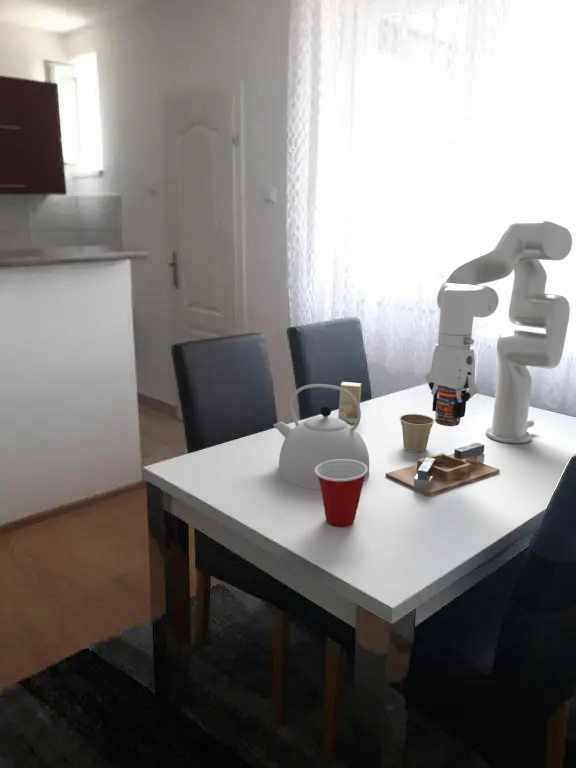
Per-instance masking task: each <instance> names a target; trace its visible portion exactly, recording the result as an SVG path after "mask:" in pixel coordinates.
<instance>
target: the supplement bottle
mask: <svg viewBox="0 0 576 768" xmlns="http://www.w3.org/2000/svg"><path fill="white" fill-rule="evenodd" d="M461 393H462V391H461ZM462 395H463V394H462ZM455 402H458V401H457V396H456V392H455V390H454V389H451V388H449V387H447V386H439V388H438V392H437V403H436V411H435V413H434V414H435V417H434V422H435V423H436V424H438V425H440V426H444V427H456V426H459V425H460V423H461V418H454V409H455Z"/></svg>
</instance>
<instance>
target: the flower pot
mask: <svg viewBox="0 0 576 768" xmlns="http://www.w3.org/2000/svg"><path fill="white" fill-rule="evenodd" d="M399 421H400V425H401V430H402V441H403V445H402V446H403V448H404V449H405V451H408V452H413V453H417V452H420V453H421V452H425V451H427V447H428V443H429V439H430V438H429V437H430V434H431V430H432V427H433V426H434V425H433V424H434V423H435V418H433V417H432V416H429V415H425V414H418V413H407V414H402V415H401V416H400V417H399Z"/></svg>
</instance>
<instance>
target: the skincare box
mask: <svg viewBox="0 0 576 768" xmlns="http://www.w3.org/2000/svg"><path fill="white" fill-rule="evenodd" d="M339 387H341V388H343V389H345V390H347V391H349V392H350V393H351V394H352V395H353V396H354V397H355V398H356V400H357V401H358V403H359V406H360V405H361V395H362V394H361V393H362V383H360V382H359V383H358V382H350V381H349V382H348V381H341V383H340V386H339ZM360 407H361V406H360ZM357 416H358V412H357V407H356V405H355V403H354V401H353V400H352V399H351V398H350V397H349V396H348V395H347V394H345V393H344V392H342V391H339V401H338V415H337V418H338V419H341V420H343V421H345V422H346V423H347V424H353V425H354V424H355V423H356V421H357Z"/></svg>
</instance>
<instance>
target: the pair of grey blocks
mask: <svg viewBox="0 0 576 768" xmlns="http://www.w3.org/2000/svg"><path fill="white" fill-rule="evenodd" d="M453 454H454V457H455V458H457V459H460V460H462V459H465V461H467V462H469V463H472V464H474V465H479V464H482V463H483V464H485V444H482V443H481V442H474V443H471V444H467V445H464V446H461V447H460V446H459V447H457V448H454V452H453ZM427 457H428V456H426V457H425V458H426V459H425V460H424V462H423V463H422V465H421V466H420V468H419V469H418V474H417V475H416V476H415V478H414V488H417V489H422V490H428V491H429V490H430V488H431V487H432V477H433V476H430V474H431V473H432V471H433V470H434V468H435V459H433V458H427Z"/></svg>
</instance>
